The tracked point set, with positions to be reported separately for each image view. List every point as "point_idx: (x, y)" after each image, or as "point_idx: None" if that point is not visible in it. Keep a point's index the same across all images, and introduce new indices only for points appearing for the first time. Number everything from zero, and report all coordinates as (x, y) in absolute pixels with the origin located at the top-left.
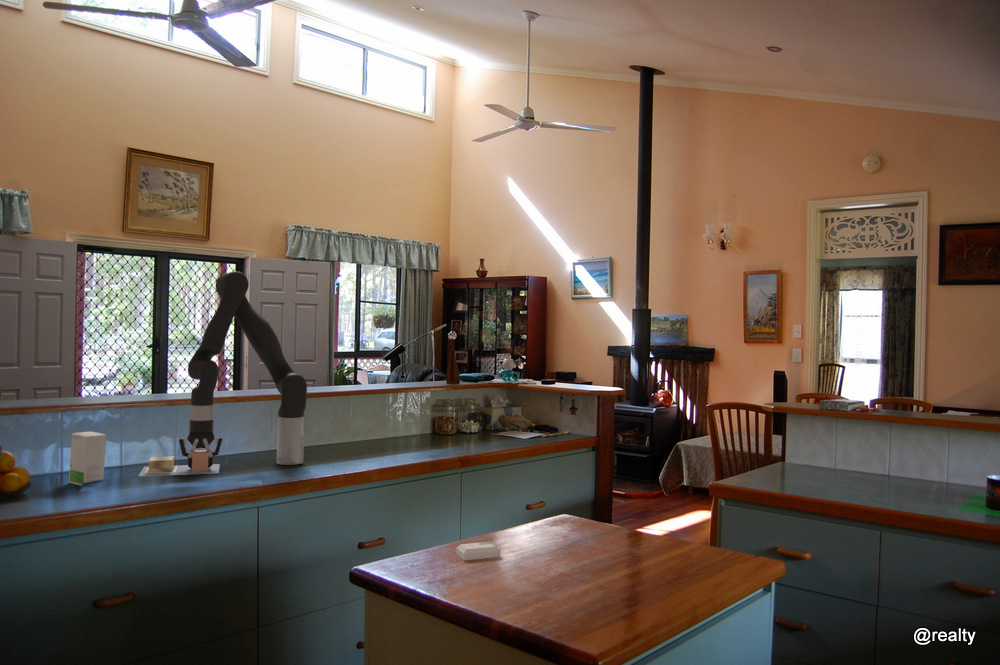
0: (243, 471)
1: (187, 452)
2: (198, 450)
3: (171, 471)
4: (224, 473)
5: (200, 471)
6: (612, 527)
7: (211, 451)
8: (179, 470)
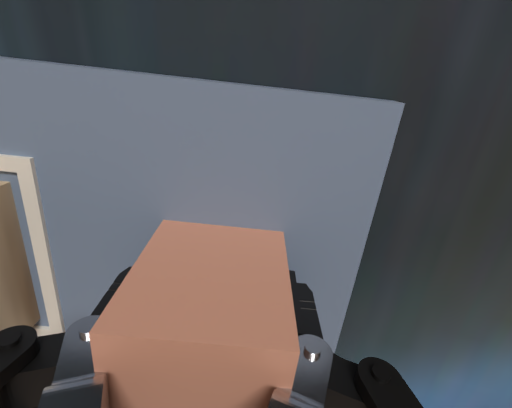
0: (499, 294)
1: (39, 375)
2: (160, 350)
3: (34, 320)
4: (368, 316)
5: None
6: None
7: (320, 393)
8: (78, 281)
